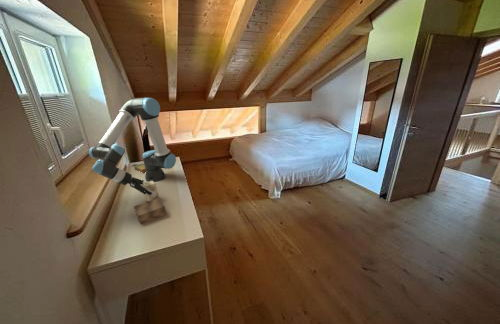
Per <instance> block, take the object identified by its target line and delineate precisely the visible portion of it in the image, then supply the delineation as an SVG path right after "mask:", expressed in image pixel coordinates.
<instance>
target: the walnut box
mask: <svg viewBox="0 0 500 324" xmlns="http://www.w3.org/2000/svg"><path fill="white" fill-rule="evenodd" d="M133 209H134V212H135V215H136V217H137V220H138V222H139V224H140V225H142V224H145V223H148V222H151V221H154V220H155V219H159V218H161V217H163V216H166V215H167V212H166V205H165V204H164V203H163V201H162V200H161V199H160V197H159V198H158V199H155V200H152V201H148V200H147V202H146V201H145V202H143V203H140V204H136V205H134V206H133Z"/></svg>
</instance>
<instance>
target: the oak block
mask: <svg viewBox="0 0 500 324" xmlns="http://www.w3.org/2000/svg"><path fill="white" fill-rule="evenodd" d="M143 187H144V188H146V189H147V190H150V191H153V192H155V193H157V195H156V196H155V197H152V196H150V195H148V194H145V198H146V201H147V202H148V201H152V200H155V199H158V198H159V199H160V196H159V192H158V191H159V190H158V186H157V183H156V181H155V182H153V181H150V182H148V181H146V182H145V183H144V184H143Z"/></svg>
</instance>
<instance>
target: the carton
mask: <svg viewBox="0 0 500 324" xmlns="http://www.w3.org/2000/svg"><path fill="white" fill-rule="evenodd" d="M133 167H134V171H136V170H137V172H139V171H140V172H139V173H141V172H142V173H141V174H146V173H145V172H146V169H145V165H144V163H140V164H136V165H134V166H133Z"/></svg>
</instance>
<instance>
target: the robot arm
mask: <svg viewBox="0 0 500 324" xmlns="http://www.w3.org/2000/svg"><path fill="white" fill-rule="evenodd" d="M118 112H119V114H117V116H116V118H115V119H114V120H113V122H112V123H111V125H110V126H109V128H108V129H107V131H106V132H105V133H104V135H103V136H102V137H101V139H100V140H99V141H98V143H97V145H96V146H92V147H90V148H89V150H88V156H89V157H90V158H91V159H95V160H96V161H95V163H94V164H93V165H92V167H91V170H92V172H94V173H95V174H97V175H99V176H102V177H105V178H107V179H109V180H111V181H112V182H116V183H119V184H120V185H123V186H126V185H127V184H129V186H130V187H131V188H133V189H135V190H137V191H138V192H140V193H142V194H143V195H145V194H148V195H150V196H152V197H155V196H156V195H157V193H155V192H153V191H150V190H147V189H146V188H144V187H143V184H144V183H146V182H150V181H153V182H155V183H156V182H159V181H162V180H163V179H165V177H166V173H165V172H164V170H163V169H165V170H167V169H168V170H170V169H172V168H173V167H174V166H175V165H176V162H177V157H176V155H175V154H173V153H172V152H171V150H170V149H169V148H168V147H167V144H166V140H165V137H164V135H163V132H162V128H161V124H160V122H159V117H160V115H159V114H160V112H161V106H160V104H159V101H157V100H156V99H155V98H153V97H134V98H130V99H129V100H128V101H126V102H125V103H123V105H122V107H120V109H119V110H118ZM137 116H139V117H140V120H141V121H143V122H144V124H145V126H146V129H147V132H148V134H149V137H150V141H151V142H152V146H153V147H154V149H153V150H147V151H145V152H143V154H141V155H142V160H143V164H144V165H145V169H146V173H144V175H145V176H144V179H145V180H144V179H140V178H136V177H134V176H132V173H129V172H127V171H125V170H124V169H121V168H119V167H118V166H117V165H118V163H119V162H120V160H121V159H122V157H123V156H124V153H125V152H126V150H125V148H124V147H123V146H122V145H119V144H116V142H117V141H118V139H119V138H120V137H121V136H122V134H123V132H124V130H125V129H127V127H128V125H129V123H130V122H131V121H132V120H134V119H135V118H136V117H137ZM145 181H146V182H145ZM145 196H146V195H145Z"/></svg>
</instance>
